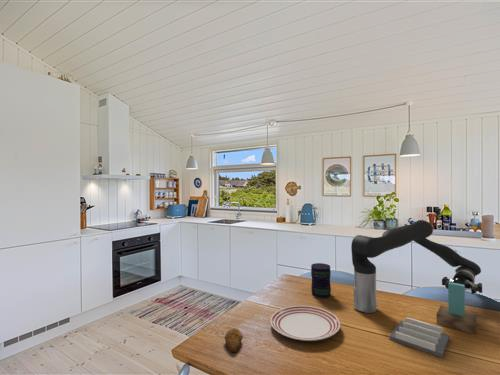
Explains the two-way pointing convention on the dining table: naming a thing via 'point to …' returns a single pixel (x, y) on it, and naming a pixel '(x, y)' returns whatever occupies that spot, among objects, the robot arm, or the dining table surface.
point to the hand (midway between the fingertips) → (459, 289)
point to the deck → (457, 320)
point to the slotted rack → (421, 336)
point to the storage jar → (321, 280)
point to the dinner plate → (305, 323)
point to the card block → (456, 298)
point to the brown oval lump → (233, 339)
